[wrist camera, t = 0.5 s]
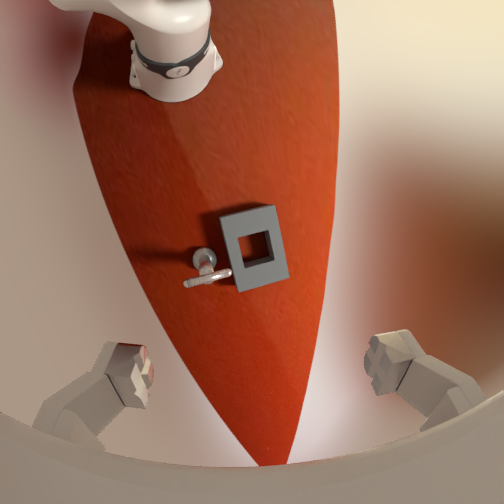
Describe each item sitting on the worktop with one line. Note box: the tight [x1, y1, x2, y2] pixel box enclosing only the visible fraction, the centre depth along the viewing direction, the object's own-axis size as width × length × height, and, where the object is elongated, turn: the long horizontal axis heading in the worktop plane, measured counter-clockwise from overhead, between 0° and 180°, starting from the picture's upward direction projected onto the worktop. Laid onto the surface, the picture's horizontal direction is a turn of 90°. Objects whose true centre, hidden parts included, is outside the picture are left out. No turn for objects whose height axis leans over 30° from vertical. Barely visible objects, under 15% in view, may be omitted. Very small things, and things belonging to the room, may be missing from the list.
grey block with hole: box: [219, 204, 290, 292], centre depth 52 cm, size 14×10×4 cm
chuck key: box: [184, 247, 232, 288], centre depth 46 cm, size 4×7×14 cm, turn 103°
